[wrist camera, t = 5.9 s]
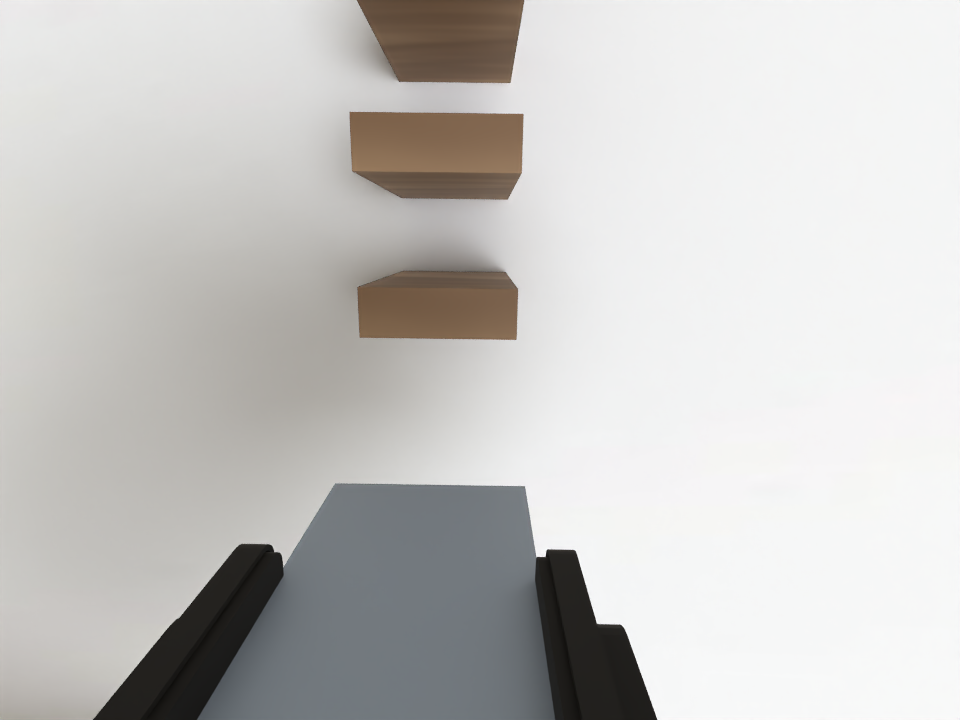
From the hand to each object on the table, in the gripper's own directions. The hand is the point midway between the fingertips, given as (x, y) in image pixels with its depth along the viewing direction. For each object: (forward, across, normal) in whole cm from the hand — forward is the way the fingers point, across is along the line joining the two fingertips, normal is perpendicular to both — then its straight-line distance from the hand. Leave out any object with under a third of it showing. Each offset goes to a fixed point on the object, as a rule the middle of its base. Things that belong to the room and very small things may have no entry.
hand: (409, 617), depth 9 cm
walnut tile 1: (+16, 0, -5) cm, 17 cm away
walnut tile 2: (+16, 0, -10) cm, 19 cm away
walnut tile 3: (+16, 0, -15) cm, 22 cm away
